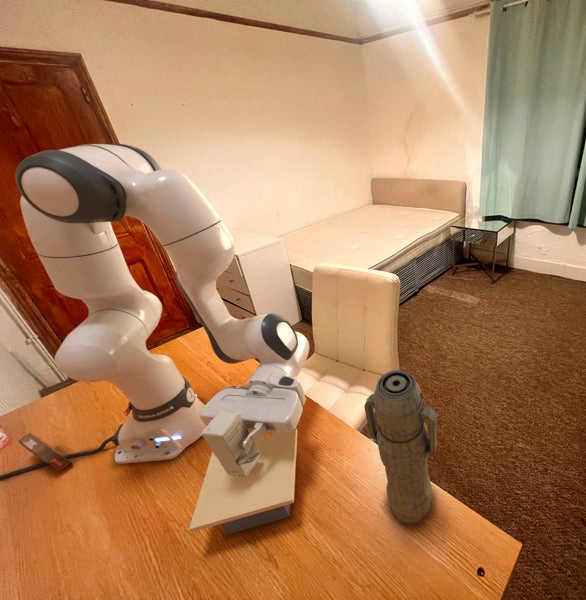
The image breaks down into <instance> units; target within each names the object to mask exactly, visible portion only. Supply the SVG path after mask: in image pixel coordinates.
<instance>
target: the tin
mask: <svg viewBox="0 0 586 600" xmlns="http://www.w3.org/2000/svg"><path fill="white" fill-rule="evenodd" d="M18 443H19V444H20V445H21V446H22V447H24V448H25V449H26V450H27V451H29V452H30V453H31V454H32V455H34V456H35V457H37V458H38V459H39V460H41V461H43V462H46V463H49V464H48V465H51V467H52V468H54V469H55V470H56V471H57V472H61V471H62V470H63V469H65V468H66V467H67V466H68V465H70V464H71V463H72V462H73V461H71V460H70V458H67V459H66V458H65V457H64V456H65V455H64V454H62V453H61V452H59V451H58V450H57V449H55V448H54V447H53V446H51V445H50V444H48V443H47V442H45V441H44V440H42V439H41V438H39V437H38V436H37V435H35V434H34V433H32V432H31V431H29V432H28V433H27V434H25V435H24V436H23V437H21V438H20V439H19V440H18Z"/></svg>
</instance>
